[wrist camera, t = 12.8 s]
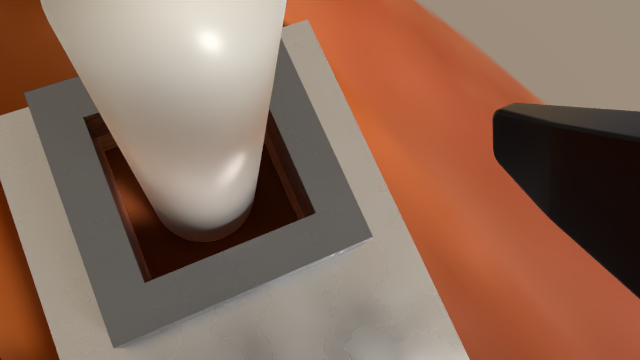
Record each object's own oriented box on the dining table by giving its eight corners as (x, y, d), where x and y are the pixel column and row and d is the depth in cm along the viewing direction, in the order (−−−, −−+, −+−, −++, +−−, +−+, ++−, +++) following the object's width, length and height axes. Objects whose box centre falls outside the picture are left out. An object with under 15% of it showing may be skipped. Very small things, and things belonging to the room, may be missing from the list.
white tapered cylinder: (201, 263, 22) (156, 136, 9) (130, 191, 22) (-19, -39, 9) (275, 193, 23) (336, -13, 10) (206, 126, 23) (175, -162, 10)
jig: (502, 462, 22) (571, 491, 17) (171, 655, 18) (153, 748, 14) (303, 37, 25) (318, -25, 21) (-3, 135, 22) (-59, 85, 18)
